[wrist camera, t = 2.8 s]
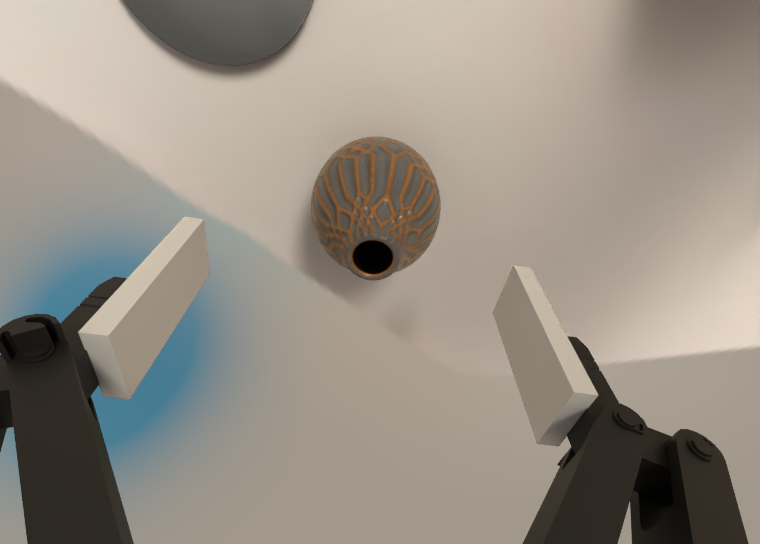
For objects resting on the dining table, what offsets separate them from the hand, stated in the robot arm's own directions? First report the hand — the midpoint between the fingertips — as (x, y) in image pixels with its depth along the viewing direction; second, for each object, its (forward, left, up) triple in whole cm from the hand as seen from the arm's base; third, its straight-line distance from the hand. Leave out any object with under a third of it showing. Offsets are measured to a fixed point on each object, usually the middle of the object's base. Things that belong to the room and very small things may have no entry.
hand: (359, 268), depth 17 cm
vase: (0, +1, -9) cm, 9 cm away
